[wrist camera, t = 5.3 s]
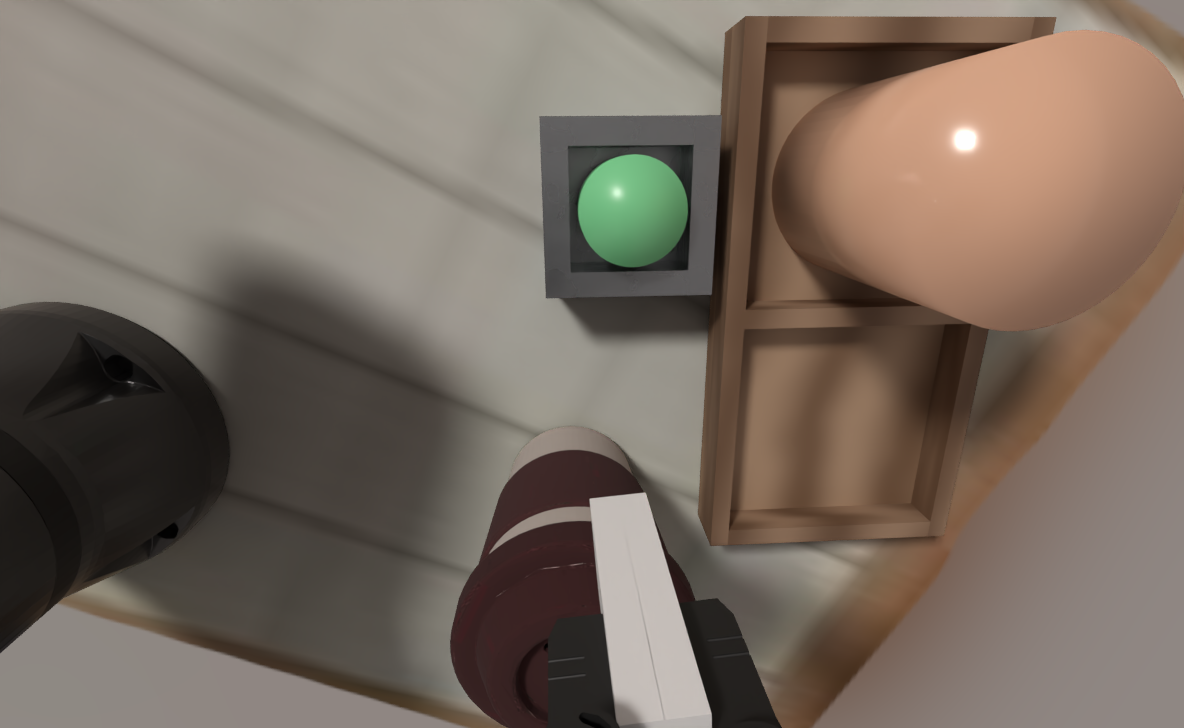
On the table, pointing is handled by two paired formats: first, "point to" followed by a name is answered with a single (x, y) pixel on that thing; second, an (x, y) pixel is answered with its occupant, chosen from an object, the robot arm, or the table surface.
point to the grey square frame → (596, 139)
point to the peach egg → (992, 179)
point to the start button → (632, 210)
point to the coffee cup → (538, 571)
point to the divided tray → (826, 312)
